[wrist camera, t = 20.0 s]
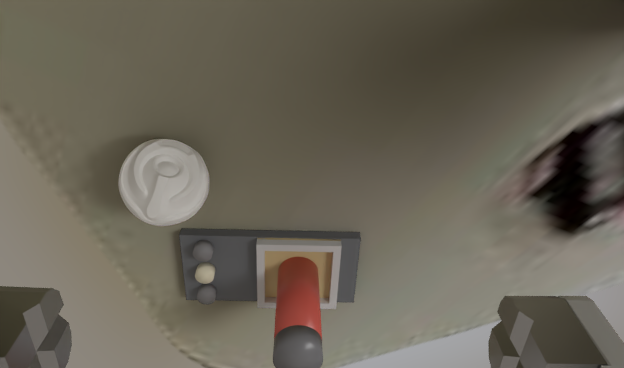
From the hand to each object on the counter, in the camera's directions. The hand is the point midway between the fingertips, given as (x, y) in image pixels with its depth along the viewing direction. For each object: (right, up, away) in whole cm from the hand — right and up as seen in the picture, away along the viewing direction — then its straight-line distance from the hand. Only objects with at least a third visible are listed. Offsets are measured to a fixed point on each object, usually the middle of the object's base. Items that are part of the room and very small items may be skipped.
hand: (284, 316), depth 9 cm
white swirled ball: (-13, +5, +40) cm, 43 cm away
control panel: (-4, -6, +47) cm, 47 cm away
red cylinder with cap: (-1, -7, +45) cm, 46 cm away
